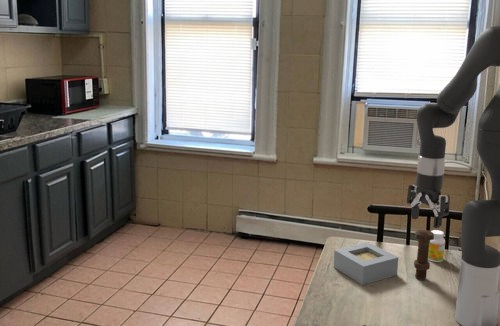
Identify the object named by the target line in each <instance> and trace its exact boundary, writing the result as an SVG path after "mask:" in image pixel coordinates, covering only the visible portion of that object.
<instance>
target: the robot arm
mask: <svg viewBox="0 0 500 326" xmlns="http://www.w3.org/2000/svg"><path fill="white" fill-rule="evenodd" d="M489 67H500V25H498V26H497V25H495V26H494V25H493V26H489V27H487V28H485V29H484V30H483V31H482V32H481V33H480V34H479V35H478V37H477V38H476V40H475V42H474V43H473V45H472V47H471V48H470V49H469V51H468V52H467V55H466V56H465V58H464V60H463V62H462V64H461V65H460V67H459V68H458V71H457V72H456V73H455V75H454V76H453V77H452V79H451V80H450V81H449V82H448V83H447V84H446V86H445V87H444V88H443V89H442V90H441V91H440V92H439V93H438V95H437V97H436V103H425V104H422V105H420V106H419V107H418V110H417V111H416V116H415V117H416V118H415V119H416V124H417V129H418V134H419V135H418V136H419V141H420V147H419V157H418V160H417V168H416V169H417V170H416V181H415V184H409V185H408V188H407V194H406V195H407V196H406V203H407V204H409V205H410V206H411V214H410V215H411V219H412V220H417V219H419V217H420V205H421V204H425V205H426V206H428V207H429V208H430V209H431V210H432V211H433V213H434V217H433V226H432V227H433V228H434V229H439V228H441V227H442V223H443V217H445V216H448V215H450V201H451V196H450V194H447V195H444V194H442V192H441V191H442V188H443V185H444V177H445V176H444V175H445V169H446V168H445V166H446V165H445V164H446V163H445V156H446V147H447V141H446V139H445V137H443V136H440V135H436V134H435V133H434V129H445V128H448V127H450V126H452V125H453V124H455V122H456V120H457V119H458V116H459V114H460V111H461V109H462V108H463V107H464V106H465V105H466V104H468V102H469V101H470V100H471V99H472V97H474V95H475V93H476V92H477V88H478V77H479V75H480V74H482V72H483V71H485V70H487V69H489ZM476 133H477V136H476V150H477V152H478V155H479V157H480V160H481V162H482V163H483V166H484V167H485V169H486V171H487V173H488V175H489V177H490V181H491V195H490V199H480V200H469V201H468V202H467V203H466V204H465V205H464V207H463V210H462V215H461V229H460V230H461V233H460V248H461V259H460V267H459V277H458V285H457V287H458V288H457V295H456V304H455V313H454V319H455V321H456V322H457V323H458V324H459V325H461V326H497V322H498V313H499V308H500V292H499V291H498V287H499V286H498V285H499V278H500V277H499V276H500V251H499V250H498V249H496V248H495V247H493V246H491V245H488V244H486V238H489V237H490V238H491V237H492V238H493V237H500V84H499V86H498V88H497V90H496V92H495V94H494V95H493V97H492V98H491V100H490V101H489V103H488V104H487V106H485V109H483V112H482V114H481V115H480V118H479V119H478V125H477V132H476Z"/></svg>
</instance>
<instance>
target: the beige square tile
mask: <svg viewBox="0 0 500 326" xmlns="http://www.w3.org/2000/svg"><path fill="white" fill-rule="evenodd" d="M354 255H355V256H357V257H359V258H360V259H362V260H364V261H366V260H370V259H374V258H378V257H377V256H375V255H373V254H371V253H369V252H367V251H366V252H362V253H358V254H354Z"/></svg>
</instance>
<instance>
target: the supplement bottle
mask: <svg viewBox="0 0 500 326" xmlns="http://www.w3.org/2000/svg"><path fill="white" fill-rule="evenodd" d="M431 232H432V233H433V234H434V240H430V244H429V252H428V261H429V262H433V263H442V262H443V261H444V256H445V248H446V247H445V246H446V240H445V238H444V235H445V234H444V231H442V230H438V229H433V230H431Z"/></svg>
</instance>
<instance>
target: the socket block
mask: <svg viewBox="0 0 500 326" xmlns="http://www.w3.org/2000/svg"><path fill="white" fill-rule="evenodd" d="M333 251H334V255H333V269H336V270H337V271H339V272H340V273H342V274H344V275H346V276H347V277H348V278H350V279H352V280H354V281H355V282H357V283H359V285H363V286H365V285H368V284H371V283H374V282H377V281H381V280H385V279H388V278H392V277H395V276H397V275H398V268H399V257H398V256H396V255H394V254H392V253H391V252H388V251H387V250H384V249H382V248H381V247H379V246H377V245H375V244H373V243H371V242H370V241H368V242H363V243H359V244H355V245H350V246H345V247H341V248H338V249H335V250H333ZM366 251H367V252H369V253H371V254H373V255H375V256H377V257H378V258H374V259H370V260H366V261H364V260H362V259H360V258H359V257H357V256H355V255H354V254H358V253H362V252H366Z"/></svg>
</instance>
